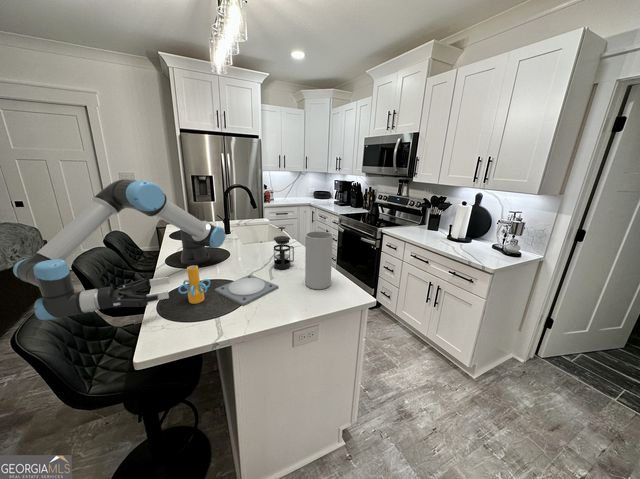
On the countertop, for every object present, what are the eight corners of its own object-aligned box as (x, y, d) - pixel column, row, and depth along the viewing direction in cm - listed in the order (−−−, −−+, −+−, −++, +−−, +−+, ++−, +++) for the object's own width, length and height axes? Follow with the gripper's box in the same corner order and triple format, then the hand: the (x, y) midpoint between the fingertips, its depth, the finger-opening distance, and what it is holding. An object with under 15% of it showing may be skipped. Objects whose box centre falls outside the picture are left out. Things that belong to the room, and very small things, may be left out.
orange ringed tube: (217, 297, 110) (214, 265, 106) (199, 309, 101) (194, 274, 96) (194, 292, 114) (190, 260, 110) (175, 303, 104) (170, 269, 100)
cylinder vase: (328, 291, 118) (330, 239, 110) (302, 288, 120) (302, 237, 112) (332, 279, 129) (334, 232, 122) (308, 277, 131) (308, 230, 124)
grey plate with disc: (214, 291, 115) (214, 287, 114) (250, 276, 130) (250, 272, 130) (243, 306, 104) (243, 301, 103) (278, 288, 119) (278, 283, 119)
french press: (273, 271, 138) (272, 229, 131) (272, 264, 147) (270, 225, 140) (294, 269, 141) (294, 229, 134) (292, 263, 150) (292, 224, 143)
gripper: (108, 293, 102) (170, 282, 112) (92, 327, 81) (169, 310, 91) (104, 276, 100) (167, 266, 110) (87, 306, 79) (166, 291, 89)
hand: (168, 286), depth 100 cm, fingers open, 13 cm apart
